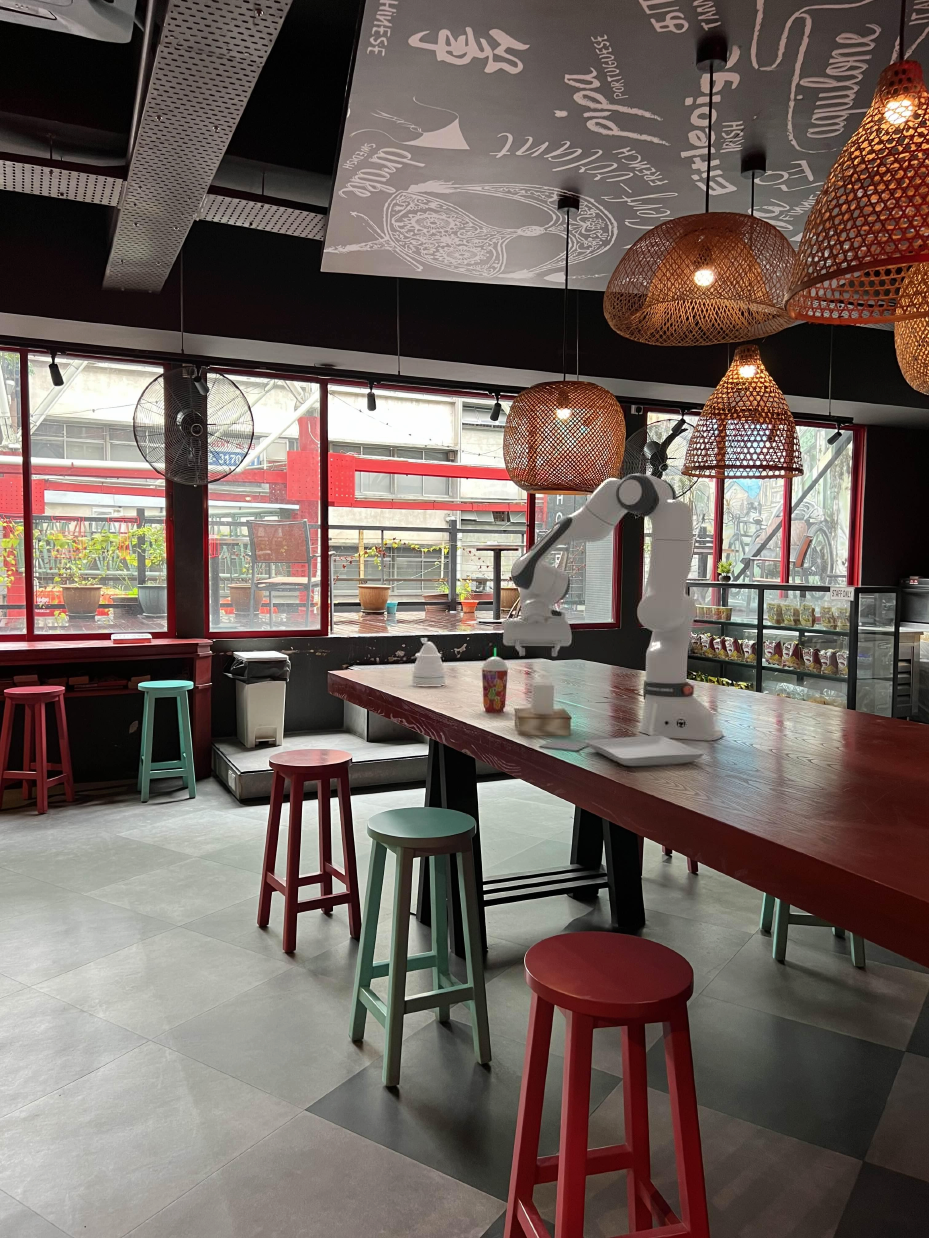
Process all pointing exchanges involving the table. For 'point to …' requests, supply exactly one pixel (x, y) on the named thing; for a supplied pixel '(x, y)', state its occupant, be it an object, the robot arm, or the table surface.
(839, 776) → the table surface
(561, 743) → the mat
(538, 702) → the cap
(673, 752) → the salad plate
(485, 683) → the smoothie
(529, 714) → the box
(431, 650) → the honey pot
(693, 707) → the robot arm
